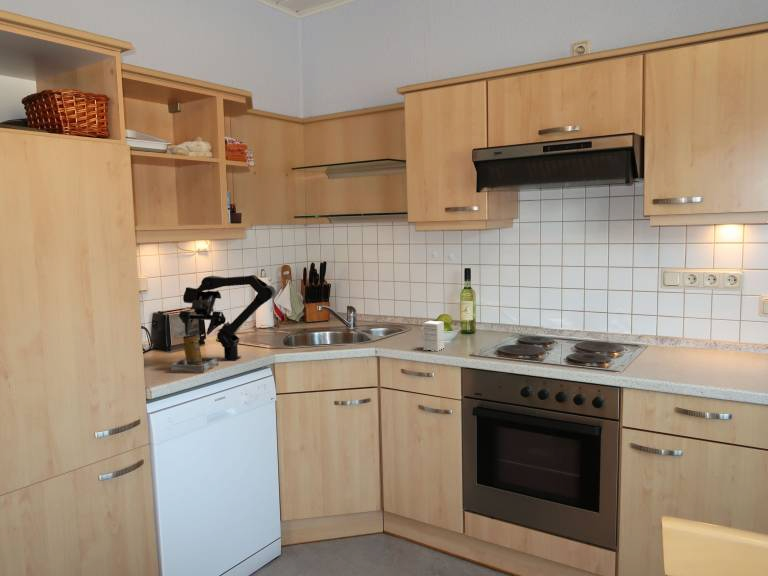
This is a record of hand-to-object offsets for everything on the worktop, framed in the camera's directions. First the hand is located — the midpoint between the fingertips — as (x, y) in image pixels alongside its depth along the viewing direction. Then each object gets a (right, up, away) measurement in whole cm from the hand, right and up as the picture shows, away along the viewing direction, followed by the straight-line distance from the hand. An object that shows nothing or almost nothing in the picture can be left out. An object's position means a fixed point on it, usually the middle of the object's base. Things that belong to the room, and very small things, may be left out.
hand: (196, 334), depth 258 cm
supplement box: (+100, -9, +24) cm, 103 cm away
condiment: (+1, -12, -3) cm, 13 cm away
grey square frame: (0, -14, -2) cm, 14 cm away
